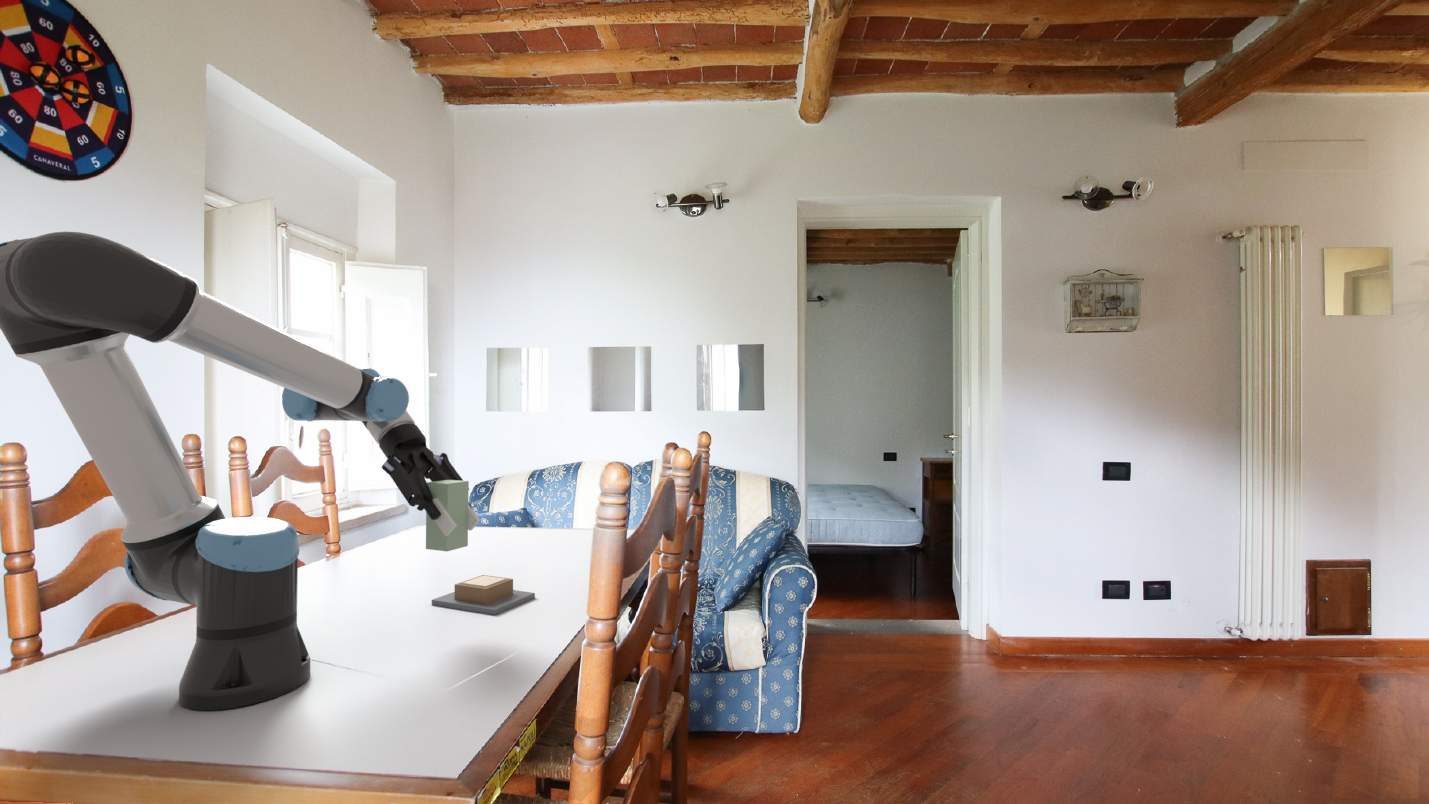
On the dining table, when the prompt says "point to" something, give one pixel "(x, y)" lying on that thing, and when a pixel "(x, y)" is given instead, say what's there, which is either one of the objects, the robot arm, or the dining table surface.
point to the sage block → (456, 505)
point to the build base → (487, 607)
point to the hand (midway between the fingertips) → (463, 527)
